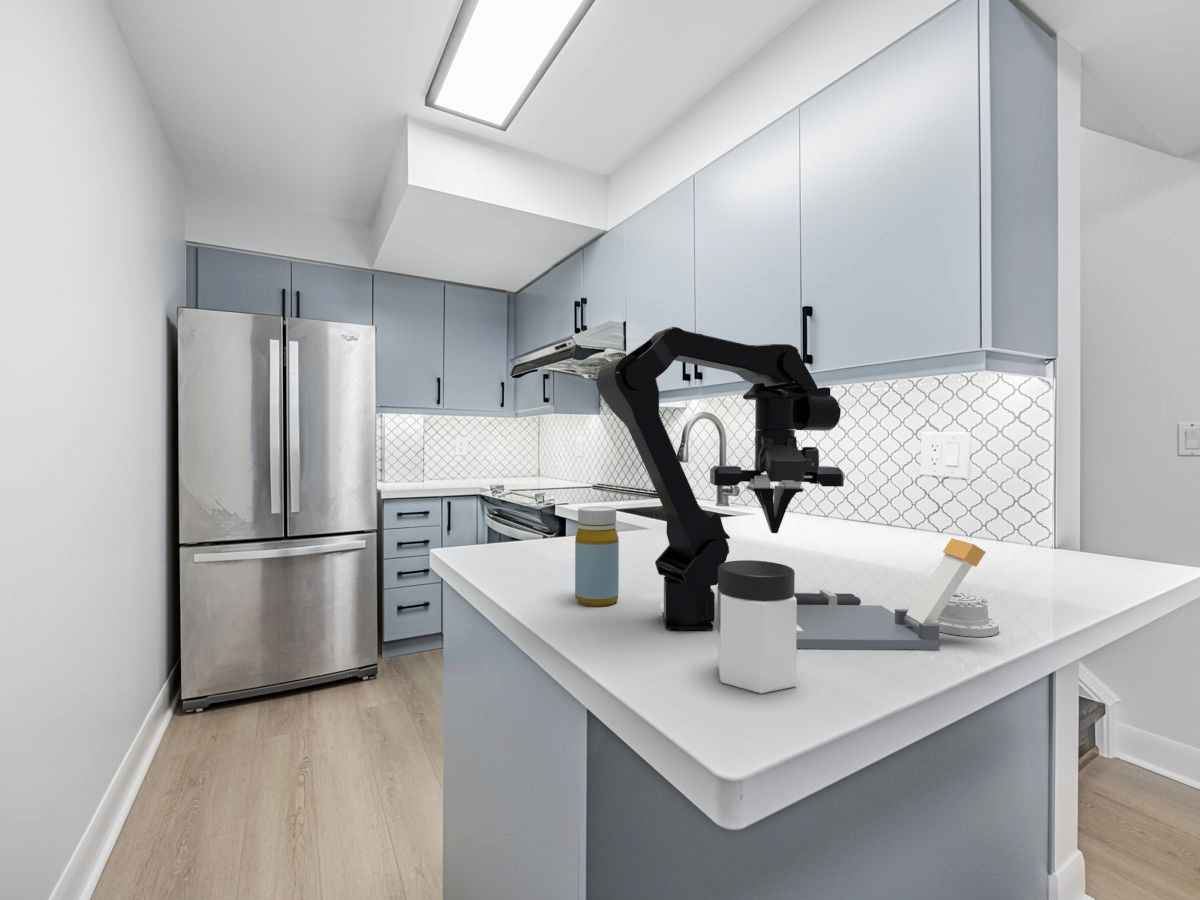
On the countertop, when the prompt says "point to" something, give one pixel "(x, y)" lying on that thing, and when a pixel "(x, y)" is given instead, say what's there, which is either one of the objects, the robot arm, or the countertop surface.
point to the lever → (943, 582)
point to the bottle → (596, 557)
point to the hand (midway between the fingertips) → (774, 532)
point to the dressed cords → (826, 598)
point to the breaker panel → (861, 628)
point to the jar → (756, 625)
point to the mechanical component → (967, 617)
